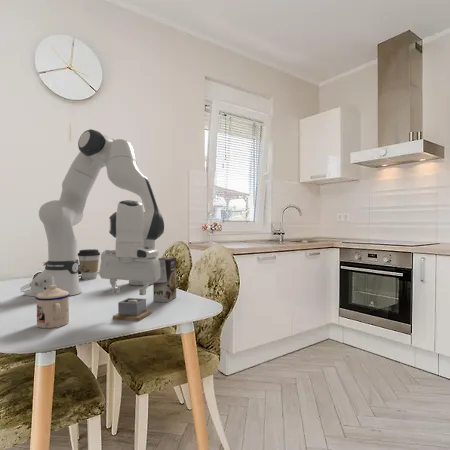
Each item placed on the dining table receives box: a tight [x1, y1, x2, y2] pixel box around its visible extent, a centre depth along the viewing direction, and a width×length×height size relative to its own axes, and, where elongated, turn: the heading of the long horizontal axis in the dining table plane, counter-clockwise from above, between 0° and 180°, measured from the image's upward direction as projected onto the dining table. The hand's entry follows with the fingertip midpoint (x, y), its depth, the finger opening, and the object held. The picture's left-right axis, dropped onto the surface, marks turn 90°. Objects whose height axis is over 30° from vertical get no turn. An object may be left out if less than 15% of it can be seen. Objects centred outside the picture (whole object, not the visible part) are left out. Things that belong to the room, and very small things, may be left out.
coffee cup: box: [77, 248, 101, 281], centre depth 182 cm, size 11×11×15 cm
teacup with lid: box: [35, 285, 71, 329], centre depth 102 cm, size 12×9×12 cm
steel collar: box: [117, 297, 147, 316], centre depth 112 cm, size 6×6×4 cm
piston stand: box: [112, 300, 153, 322], centre depth 112 cm, size 9×9×5 cm
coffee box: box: [152, 256, 177, 303], centre depth 135 cm, size 9×6×16 cm
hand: (129, 293), depth 111 cm, fingers open, 8 cm apart
